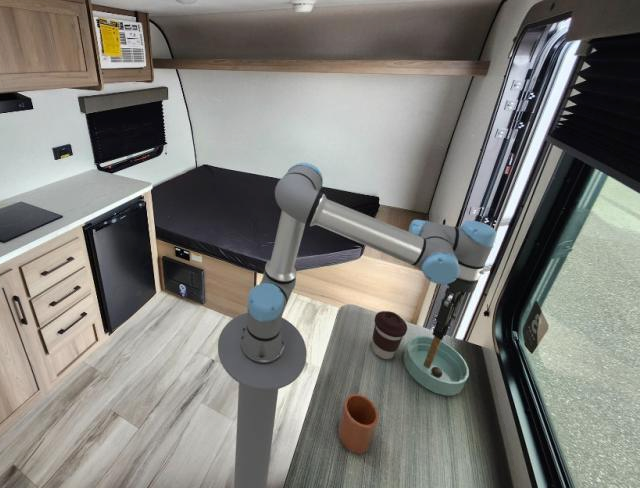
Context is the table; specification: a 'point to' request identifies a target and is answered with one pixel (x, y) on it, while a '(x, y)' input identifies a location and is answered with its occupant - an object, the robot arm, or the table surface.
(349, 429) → the crock
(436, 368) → the bead
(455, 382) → the bowl
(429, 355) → the stick
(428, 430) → the table surface
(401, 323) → the coffee cup
